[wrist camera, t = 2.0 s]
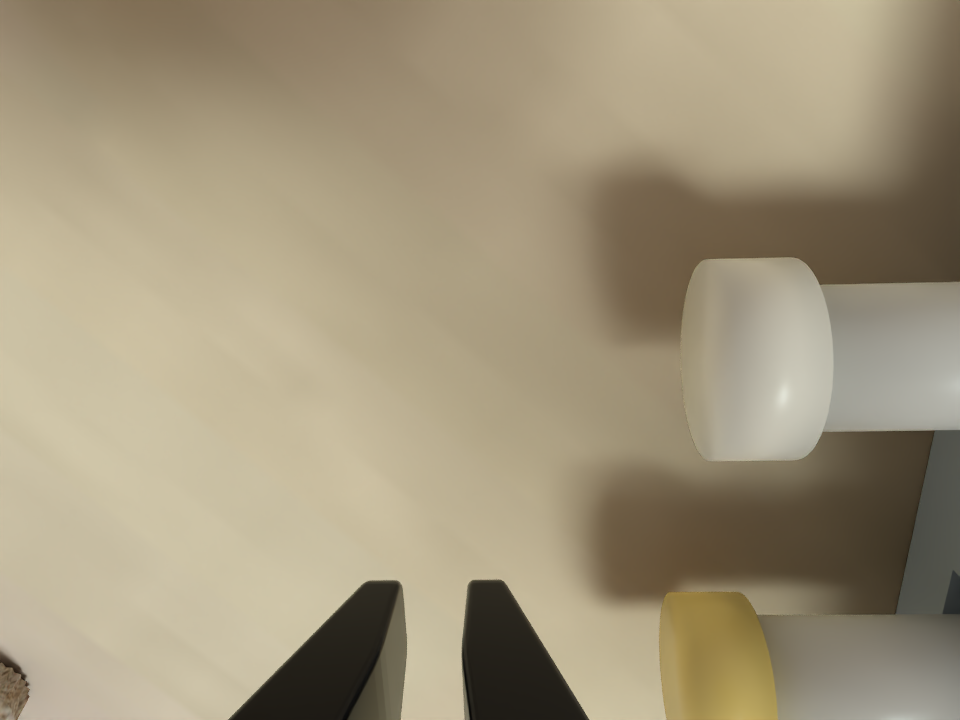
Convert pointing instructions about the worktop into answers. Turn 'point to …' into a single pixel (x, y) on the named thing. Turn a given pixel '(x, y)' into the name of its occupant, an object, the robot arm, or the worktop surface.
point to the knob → (812, 358)
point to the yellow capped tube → (804, 663)
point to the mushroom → (11, 693)
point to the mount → (936, 535)
